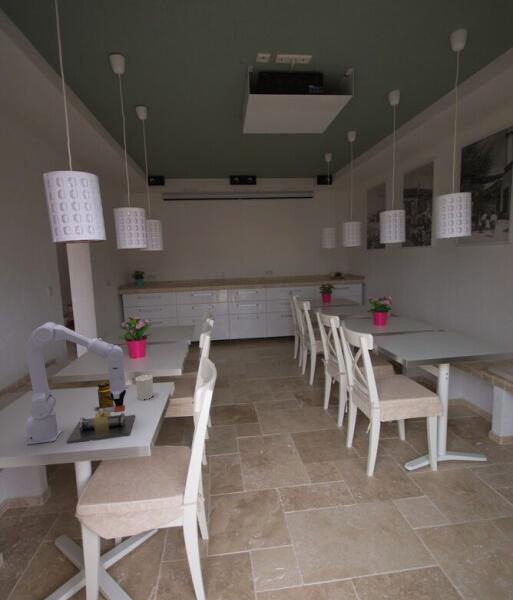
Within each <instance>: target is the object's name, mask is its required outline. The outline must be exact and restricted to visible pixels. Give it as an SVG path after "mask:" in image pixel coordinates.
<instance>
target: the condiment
mask: <svg viewBox="0 0 513 600" xmlns="http://www.w3.org/2000/svg"><path fill="white" fill-rule="evenodd" d="M97 385H98V386H97V388H98V390H97V396H98V397H97V398H98V406H95V407H93V411H94V413H95V415H96V414H97V413H99V412H98V409H99V408H110V407H115V403H114V400H113V399H112V397H111V395H110V394H111V392H110V382H109V380H105V381H104V380H103V381H101V382H98V384H97Z"/></svg>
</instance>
